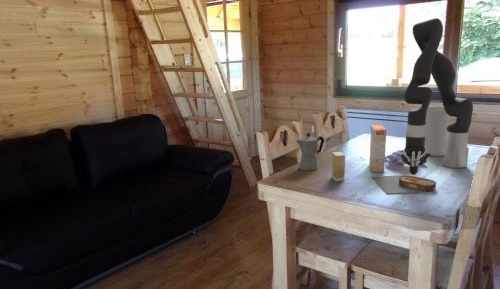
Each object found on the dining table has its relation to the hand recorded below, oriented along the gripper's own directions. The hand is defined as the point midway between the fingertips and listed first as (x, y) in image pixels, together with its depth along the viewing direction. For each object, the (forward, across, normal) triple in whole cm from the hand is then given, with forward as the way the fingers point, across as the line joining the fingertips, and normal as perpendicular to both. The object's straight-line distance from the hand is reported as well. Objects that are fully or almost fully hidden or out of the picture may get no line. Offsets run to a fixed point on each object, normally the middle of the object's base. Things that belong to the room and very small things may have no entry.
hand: (413, 174), depth 171 cm
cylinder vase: (+5, -30, -47) cm, 56 cm away
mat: (+5, +7, 0) cm, 8 cm away
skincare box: (+5, +30, -10) cm, 32 cm away
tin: (+3, -3, 0) cm, 5 cm away
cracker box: (+5, +8, -24) cm, 26 cm away
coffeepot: (+5, +40, -30) cm, 50 cm away
